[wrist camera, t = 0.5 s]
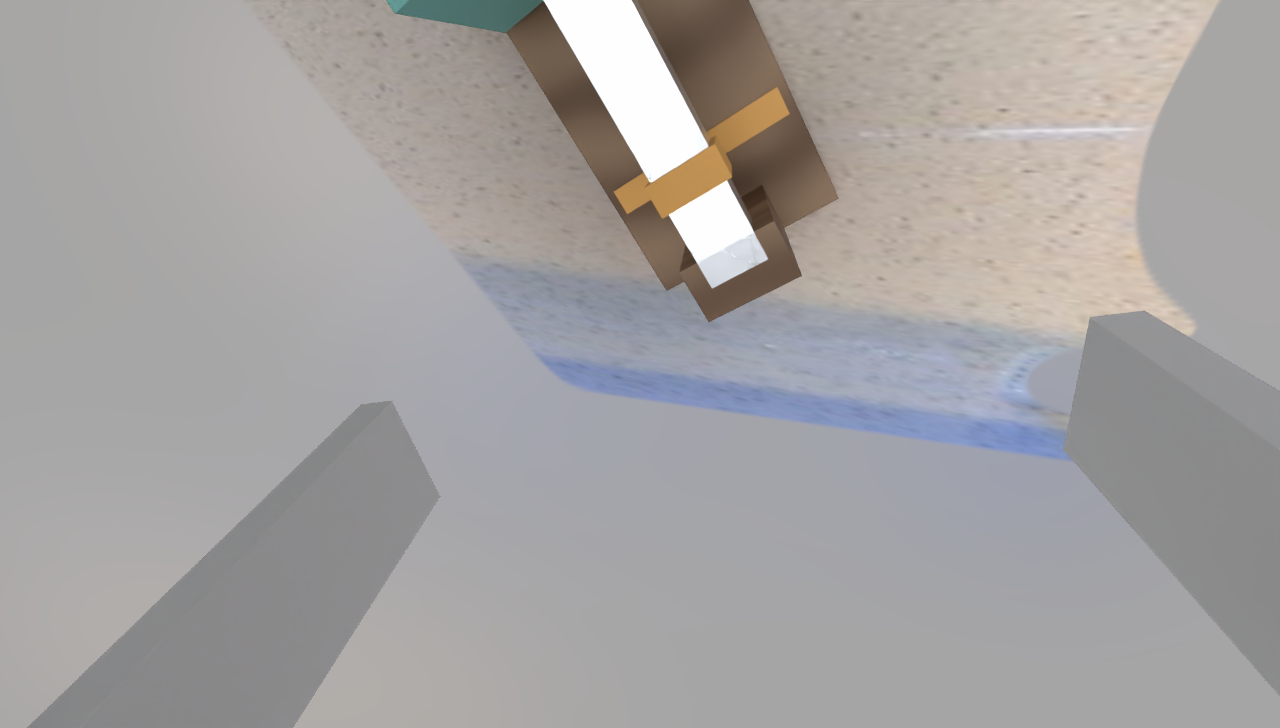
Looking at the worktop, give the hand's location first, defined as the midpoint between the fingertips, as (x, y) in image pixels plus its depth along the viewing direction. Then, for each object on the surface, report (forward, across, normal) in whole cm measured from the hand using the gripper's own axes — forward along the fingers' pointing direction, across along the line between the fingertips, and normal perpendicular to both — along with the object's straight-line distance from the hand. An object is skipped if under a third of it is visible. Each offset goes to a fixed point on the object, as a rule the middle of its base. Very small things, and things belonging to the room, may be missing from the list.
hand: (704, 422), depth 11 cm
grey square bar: (+20, -3, +7) cm, 21 cm away
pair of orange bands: (+25, -1, +2) cm, 25 cm away
